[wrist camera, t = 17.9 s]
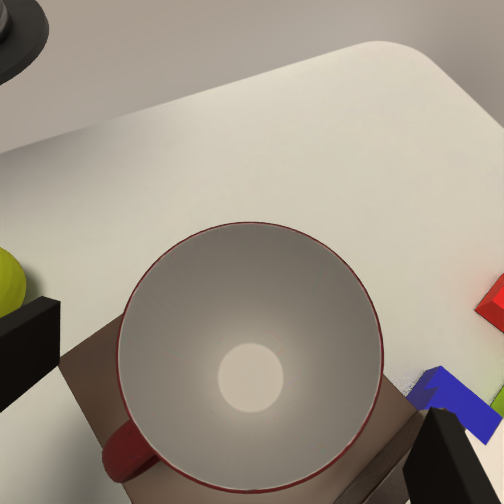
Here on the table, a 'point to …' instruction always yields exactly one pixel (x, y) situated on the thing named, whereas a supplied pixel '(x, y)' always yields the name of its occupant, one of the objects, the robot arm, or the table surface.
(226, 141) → the table surface
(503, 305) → the building blocks
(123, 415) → the shelf
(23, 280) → the tennis ball
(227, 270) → the mug
